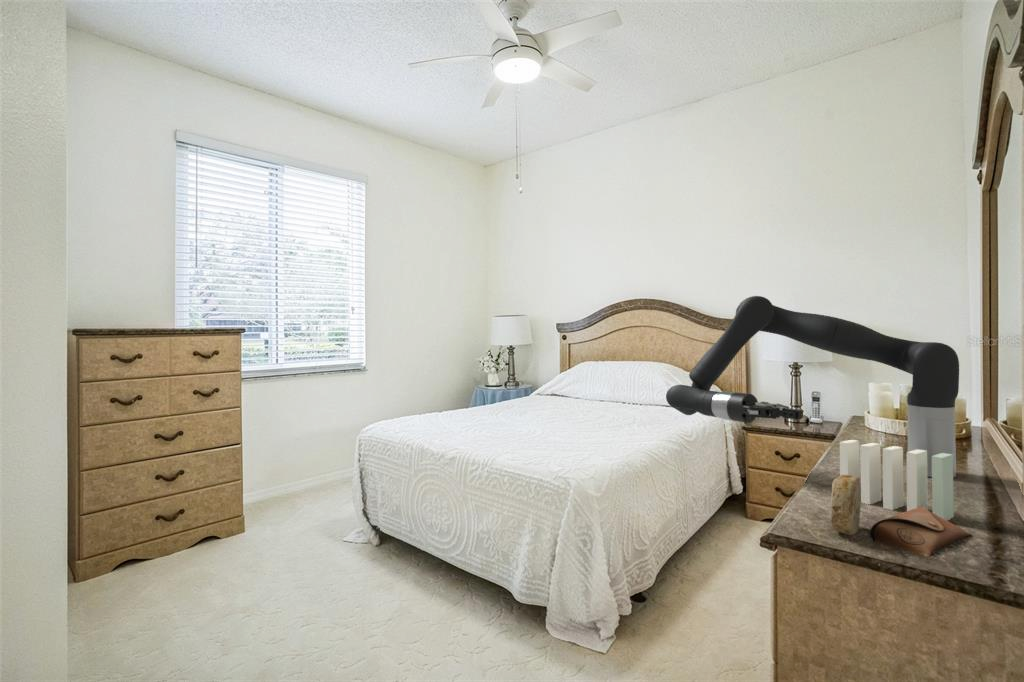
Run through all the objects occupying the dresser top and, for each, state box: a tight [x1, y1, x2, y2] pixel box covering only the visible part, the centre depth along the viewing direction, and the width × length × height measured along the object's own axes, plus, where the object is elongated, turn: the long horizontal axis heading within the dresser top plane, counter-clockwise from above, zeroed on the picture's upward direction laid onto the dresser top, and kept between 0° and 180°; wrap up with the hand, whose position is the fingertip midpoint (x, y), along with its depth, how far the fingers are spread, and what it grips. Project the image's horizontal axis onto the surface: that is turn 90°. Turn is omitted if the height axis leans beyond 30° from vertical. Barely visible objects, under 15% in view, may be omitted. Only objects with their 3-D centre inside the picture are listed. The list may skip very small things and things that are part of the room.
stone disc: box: [829, 475, 862, 536], centre depth 88 cm, size 10×4×10 cm, turn 135°
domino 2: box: [859, 442, 882, 505], centre depth 104 cm, size 2×5×12 cm, turn 121°
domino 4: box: [906, 449, 929, 511], centre depth 97 cm, size 2×5×12 cm, turn 121°
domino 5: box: [931, 453, 955, 521], centre depth 94 cm, size 2×5×12 cm, turn 121°
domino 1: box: [839, 439, 861, 483], centre depth 107 cm, size 2×5×12 cm, turn 121°
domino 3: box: [882, 445, 905, 511], centre depth 100 cm, size 2×5×12 cm, turn 122°
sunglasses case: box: [869, 505, 972, 558], centre depth 85 cm, size 18×7×7 cm
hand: (801, 415), depth 116 cm, fingers closed
